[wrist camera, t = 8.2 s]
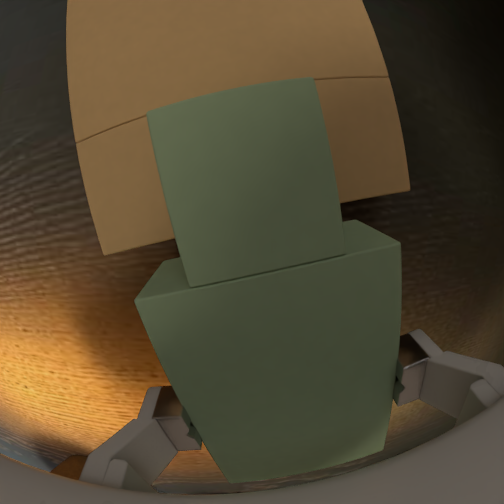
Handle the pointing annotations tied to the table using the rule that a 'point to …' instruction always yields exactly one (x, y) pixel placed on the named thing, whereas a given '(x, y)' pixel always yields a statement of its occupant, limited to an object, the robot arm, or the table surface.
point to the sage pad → (270, 286)
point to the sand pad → (214, 80)
